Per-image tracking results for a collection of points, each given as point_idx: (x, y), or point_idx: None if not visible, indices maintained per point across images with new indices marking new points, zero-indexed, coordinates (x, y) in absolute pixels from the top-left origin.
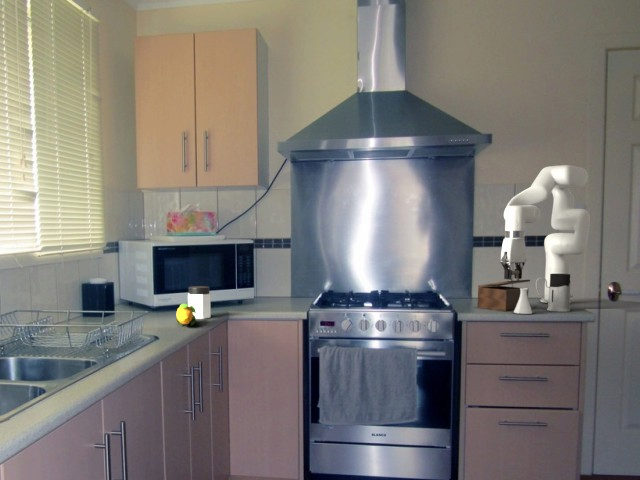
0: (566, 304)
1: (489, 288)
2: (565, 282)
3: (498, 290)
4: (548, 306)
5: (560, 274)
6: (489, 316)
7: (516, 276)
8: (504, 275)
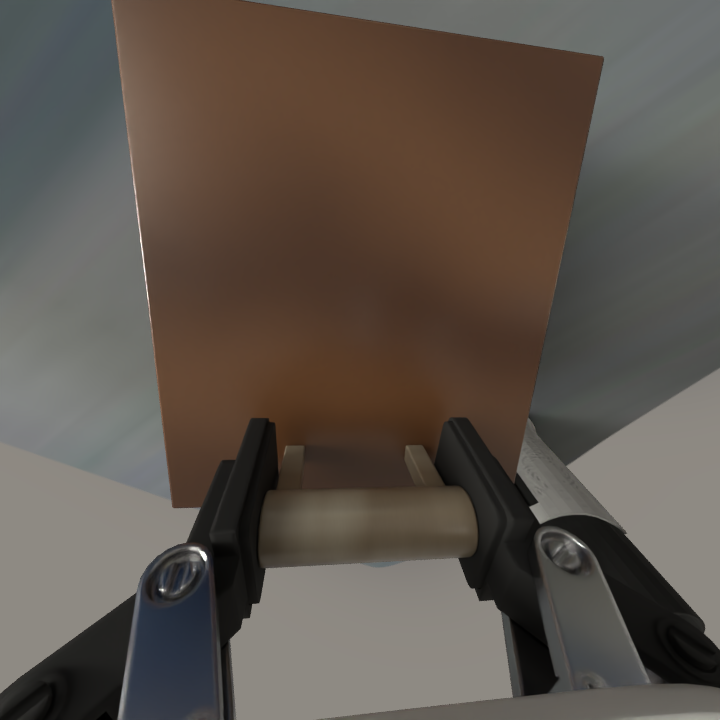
0: None
1: None
2: None
3: None
4: None
5: (695, 619)
6: (9, 432)
7: (418, 475)
8: (240, 449)
